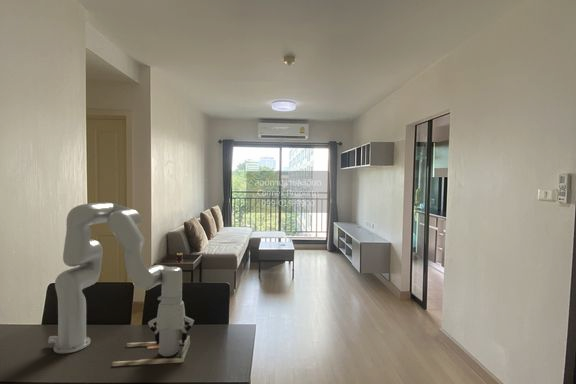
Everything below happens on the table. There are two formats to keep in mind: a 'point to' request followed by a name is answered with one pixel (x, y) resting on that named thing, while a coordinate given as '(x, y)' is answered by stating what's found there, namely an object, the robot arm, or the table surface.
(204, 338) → the table surface
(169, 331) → the can
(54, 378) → the table surface
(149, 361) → the tan bent flat bar
